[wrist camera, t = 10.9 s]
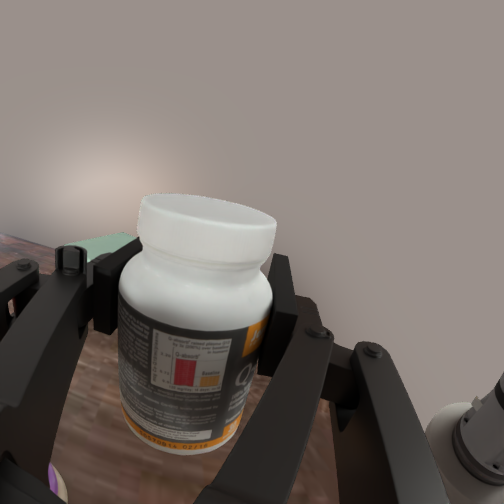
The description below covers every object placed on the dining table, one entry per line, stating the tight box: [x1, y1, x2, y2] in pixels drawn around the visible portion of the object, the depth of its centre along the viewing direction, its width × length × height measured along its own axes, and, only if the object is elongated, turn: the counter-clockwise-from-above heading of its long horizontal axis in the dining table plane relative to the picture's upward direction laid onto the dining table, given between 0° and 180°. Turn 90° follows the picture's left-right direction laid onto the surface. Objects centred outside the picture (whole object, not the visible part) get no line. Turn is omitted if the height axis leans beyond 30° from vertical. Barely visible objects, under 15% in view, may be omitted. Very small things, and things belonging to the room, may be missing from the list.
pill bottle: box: [118, 193, 277, 455], centre depth 12 cm, size 6×6×10 cm
